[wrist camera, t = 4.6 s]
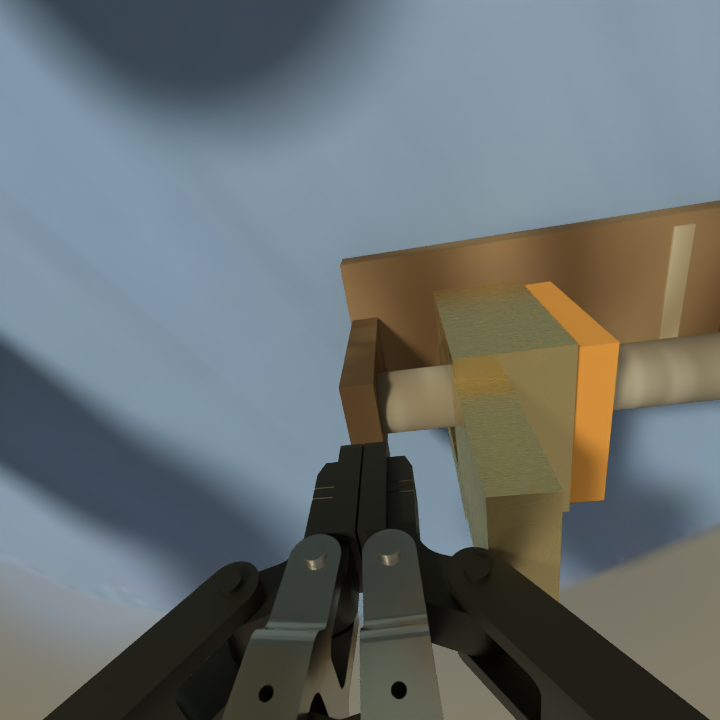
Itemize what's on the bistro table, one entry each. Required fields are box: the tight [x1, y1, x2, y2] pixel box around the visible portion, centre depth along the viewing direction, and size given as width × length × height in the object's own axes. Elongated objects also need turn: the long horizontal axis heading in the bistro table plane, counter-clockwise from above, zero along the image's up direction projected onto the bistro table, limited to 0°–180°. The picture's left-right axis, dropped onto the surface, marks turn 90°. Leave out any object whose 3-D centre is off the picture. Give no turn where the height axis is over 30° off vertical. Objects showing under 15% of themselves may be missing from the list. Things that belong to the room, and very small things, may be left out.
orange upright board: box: [524, 281, 620, 503], centre depth 16 cm, size 1×6×6 cm, turn 10°
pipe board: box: [339, 201, 720, 445], centre depth 18 cm, size 18×9×8 cm, turn 100°
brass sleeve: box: [433, 280, 578, 602], centre depth 15 cm, size 4×6×11 cm, turn 10°
